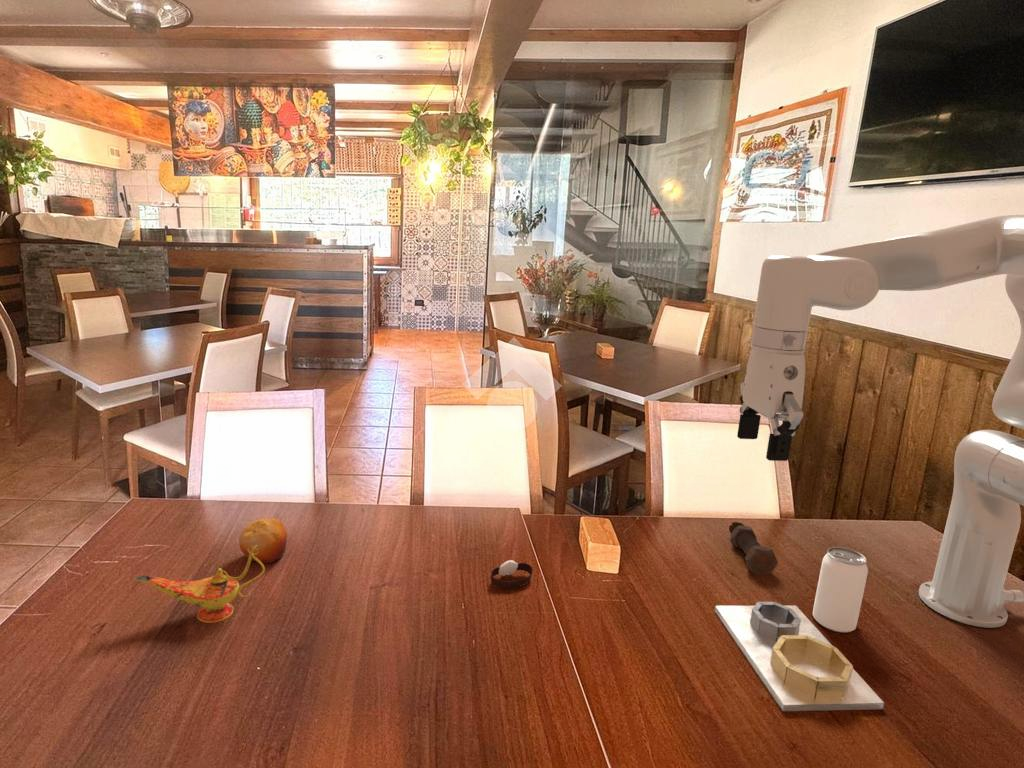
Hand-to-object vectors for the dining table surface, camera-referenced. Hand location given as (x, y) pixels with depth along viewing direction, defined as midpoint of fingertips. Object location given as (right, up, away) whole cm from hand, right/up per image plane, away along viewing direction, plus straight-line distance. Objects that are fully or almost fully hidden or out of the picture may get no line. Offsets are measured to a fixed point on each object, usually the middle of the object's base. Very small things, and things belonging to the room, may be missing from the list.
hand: (761, 448), depth 96 cm
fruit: (-83, -21, +15) cm, 87 cm away
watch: (-39, -25, +12) cm, 48 cm away
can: (+14, -29, +5) cm, 33 cm away
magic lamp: (-86, -25, -2) cm, 89 cm away
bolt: (+8, -24, +26) cm, 36 cm away
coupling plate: (+3, -30, -4) cm, 31 cm away
